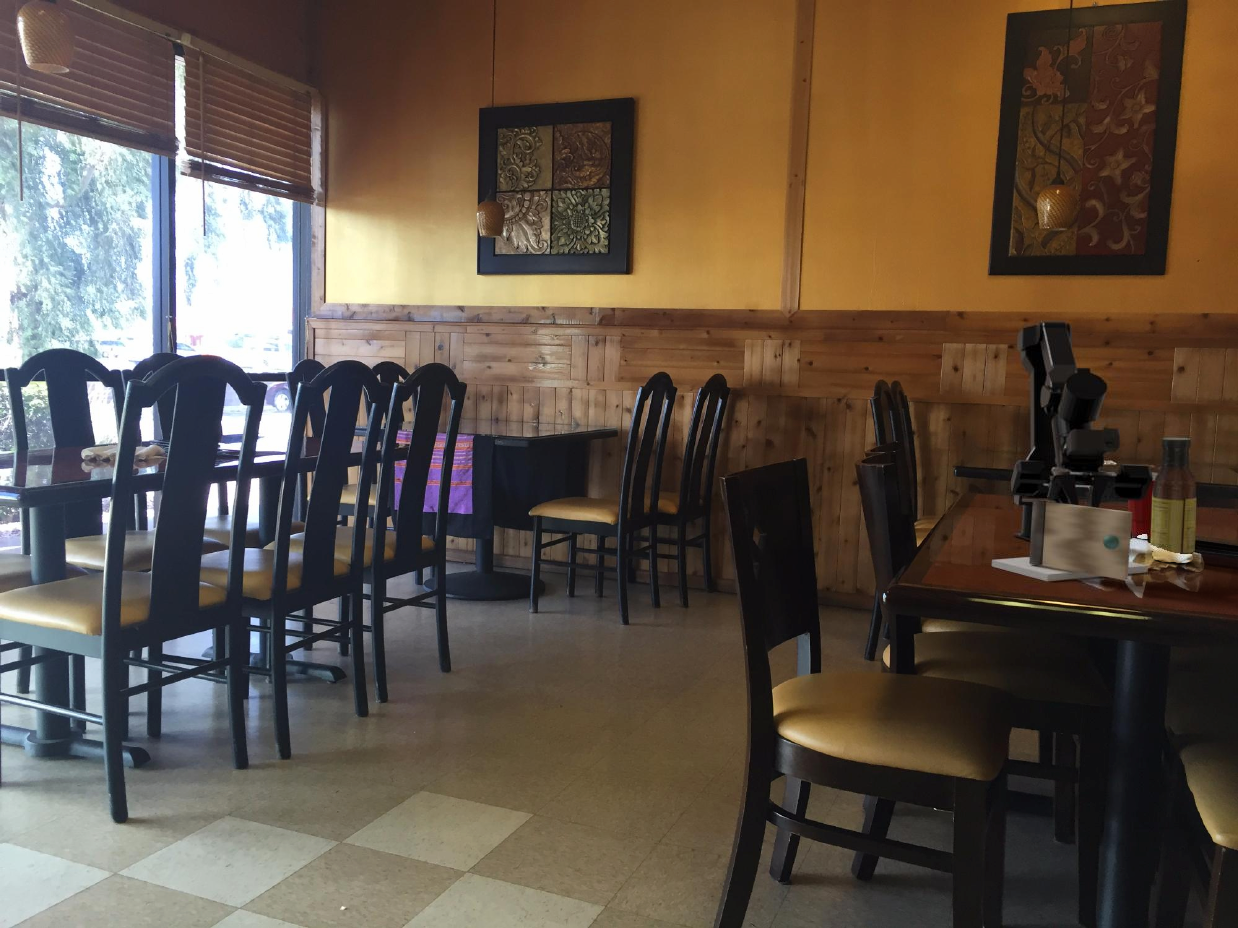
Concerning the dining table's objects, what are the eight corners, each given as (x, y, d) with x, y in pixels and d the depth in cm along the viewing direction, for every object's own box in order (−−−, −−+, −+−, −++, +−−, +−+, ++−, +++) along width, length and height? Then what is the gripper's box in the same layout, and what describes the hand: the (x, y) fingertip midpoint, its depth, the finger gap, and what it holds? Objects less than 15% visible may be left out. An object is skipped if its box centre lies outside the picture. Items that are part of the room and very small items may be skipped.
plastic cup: (1185, 546, 172) (1190, 478, 171) (1116, 539, 178) (1120, 473, 176) (1185, 537, 181) (1190, 472, 180) (1120, 531, 187) (1124, 468, 186)
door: (1021, 564, 147) (1025, 501, 146) (1033, 561, 149) (1037, 499, 148) (1117, 581, 136) (1122, 513, 135) (1129, 578, 138) (1133, 511, 137)
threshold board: (1047, 581, 142) (1047, 574, 142) (991, 566, 152) (992, 559, 152) (1147, 572, 149) (1147, 565, 149) (1088, 558, 159) (1088, 552, 159)
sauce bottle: (1182, 557, 161) (1191, 437, 159) (1201, 565, 155) (1210, 440, 153) (1140, 556, 162) (1149, 436, 160) (1157, 564, 156) (1166, 439, 154)
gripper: (1018, 407, 148) (1027, 489, 139) (1154, 410, 144) (1172, 495, 135) (1007, 453, 157) (1014, 534, 147) (1135, 458, 153) (1150, 541, 143)
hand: (1086, 525), depth 143 cm, fingers closed
